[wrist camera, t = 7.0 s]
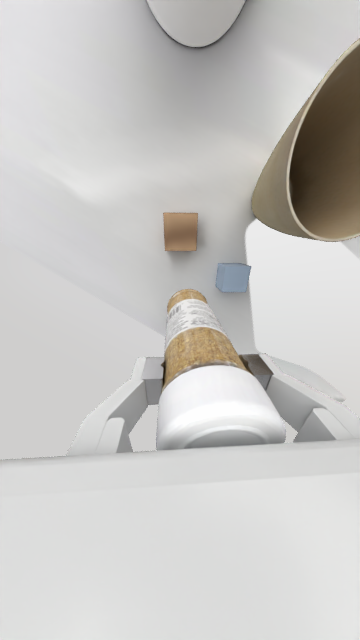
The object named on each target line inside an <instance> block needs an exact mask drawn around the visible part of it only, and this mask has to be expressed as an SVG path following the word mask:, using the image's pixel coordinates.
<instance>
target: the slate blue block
mask: <svg viewBox="0 0 360 640" xmlns="http://www.w3.org/2000/svg"><path fill="white" fill-rule="evenodd" d="M250 269H251V266H248V265H244V264H241V263H218V270H217V279H216V287H217V288H218V289H219V290H220V291H221V292H246V289H247V284H248V280H249V275H250Z"/></svg>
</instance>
